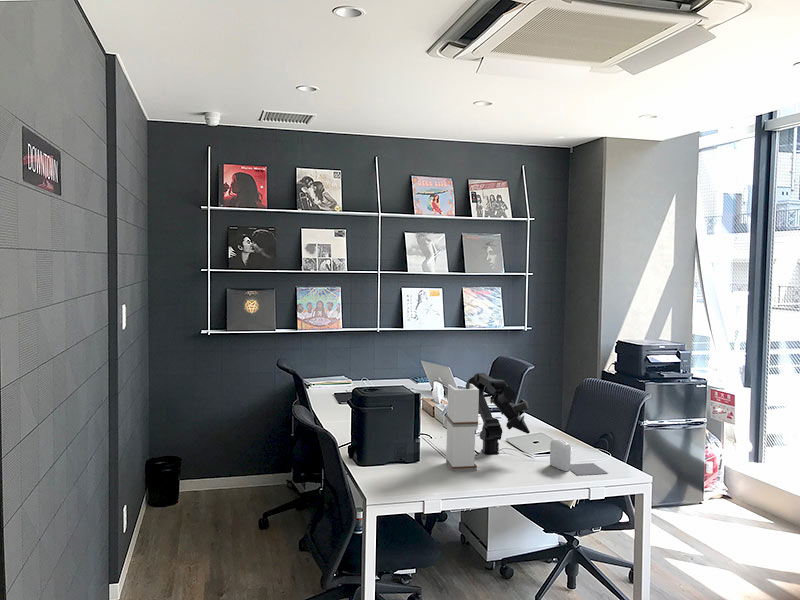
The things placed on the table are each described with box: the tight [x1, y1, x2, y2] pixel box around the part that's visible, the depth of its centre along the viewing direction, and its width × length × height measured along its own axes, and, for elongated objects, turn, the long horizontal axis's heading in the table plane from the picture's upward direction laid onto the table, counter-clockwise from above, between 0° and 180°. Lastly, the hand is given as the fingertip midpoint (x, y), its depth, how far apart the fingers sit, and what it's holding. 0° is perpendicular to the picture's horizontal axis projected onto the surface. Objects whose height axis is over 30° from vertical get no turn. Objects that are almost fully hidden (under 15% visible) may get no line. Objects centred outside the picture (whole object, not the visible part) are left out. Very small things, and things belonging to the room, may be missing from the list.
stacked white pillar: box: [445, 383, 479, 473], centre depth 289 cm, size 11×11×35 cm
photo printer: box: [549, 438, 572, 472], centre depth 291 cm, size 10×4×12 cm, turn 26°
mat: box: [569, 462, 609, 476], centre depth 290 cm, size 14×13×1 cm
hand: (529, 433), depth 297 cm, fingers closed
